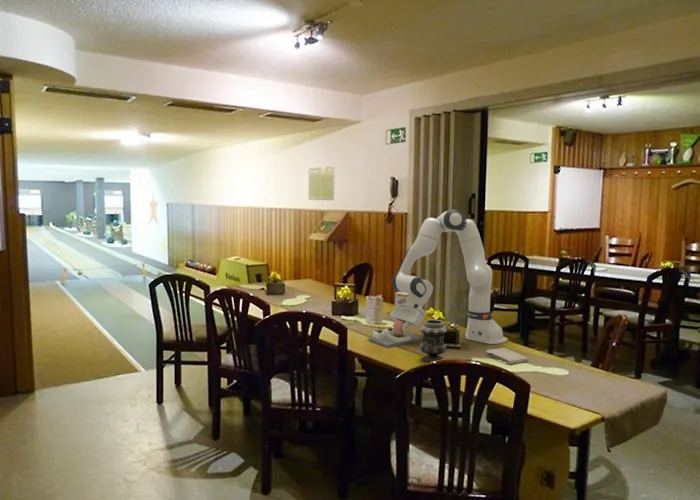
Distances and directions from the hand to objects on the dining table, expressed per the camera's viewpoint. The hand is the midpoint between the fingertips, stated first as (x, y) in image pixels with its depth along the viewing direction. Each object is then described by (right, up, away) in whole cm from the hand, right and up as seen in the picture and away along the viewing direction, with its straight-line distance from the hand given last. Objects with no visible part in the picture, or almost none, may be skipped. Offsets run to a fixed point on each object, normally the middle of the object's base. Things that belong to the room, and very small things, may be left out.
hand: (397, 328), depth 258 cm
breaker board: (-1, -7, +4) cm, 8 cm away
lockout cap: (+1, -5, +1) cm, 5 cm away
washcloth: (+48, -11, -25) cm, 55 cm away
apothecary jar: (+14, -10, -27) cm, 32 cm away
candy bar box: (+9, -3, +49) cm, 50 cm away
